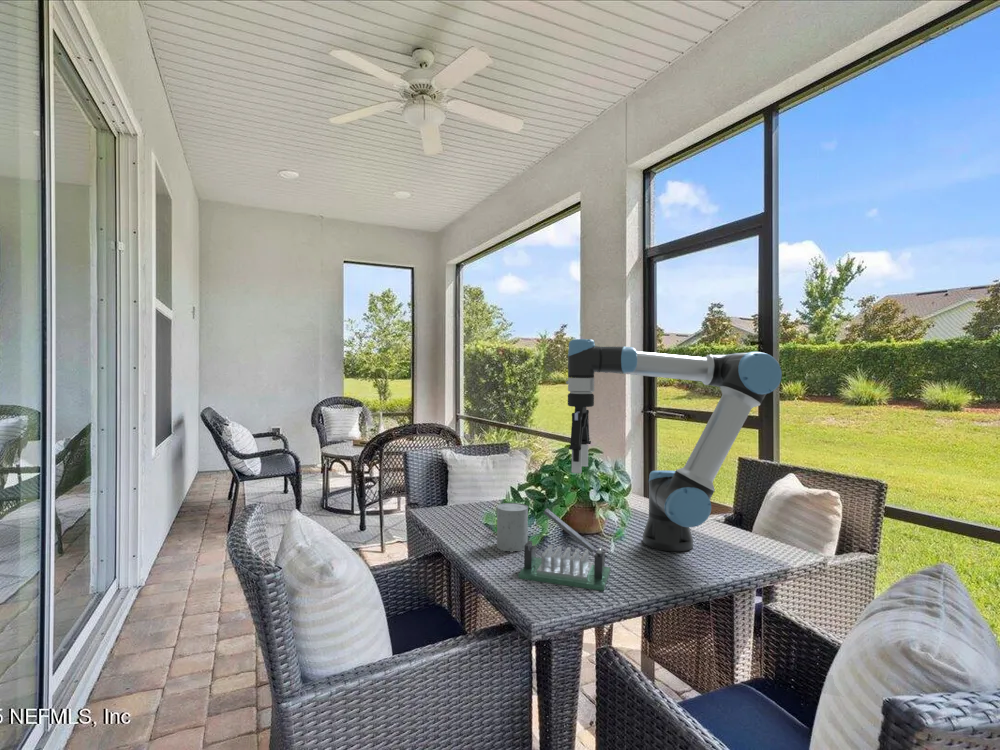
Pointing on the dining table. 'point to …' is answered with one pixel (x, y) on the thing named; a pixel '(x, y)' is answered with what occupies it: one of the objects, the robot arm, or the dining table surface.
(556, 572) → the heatsink board
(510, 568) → the dining table surface
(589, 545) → the grey hinged clamp bar
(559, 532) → the dining table surface
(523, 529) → the grey cylinder
